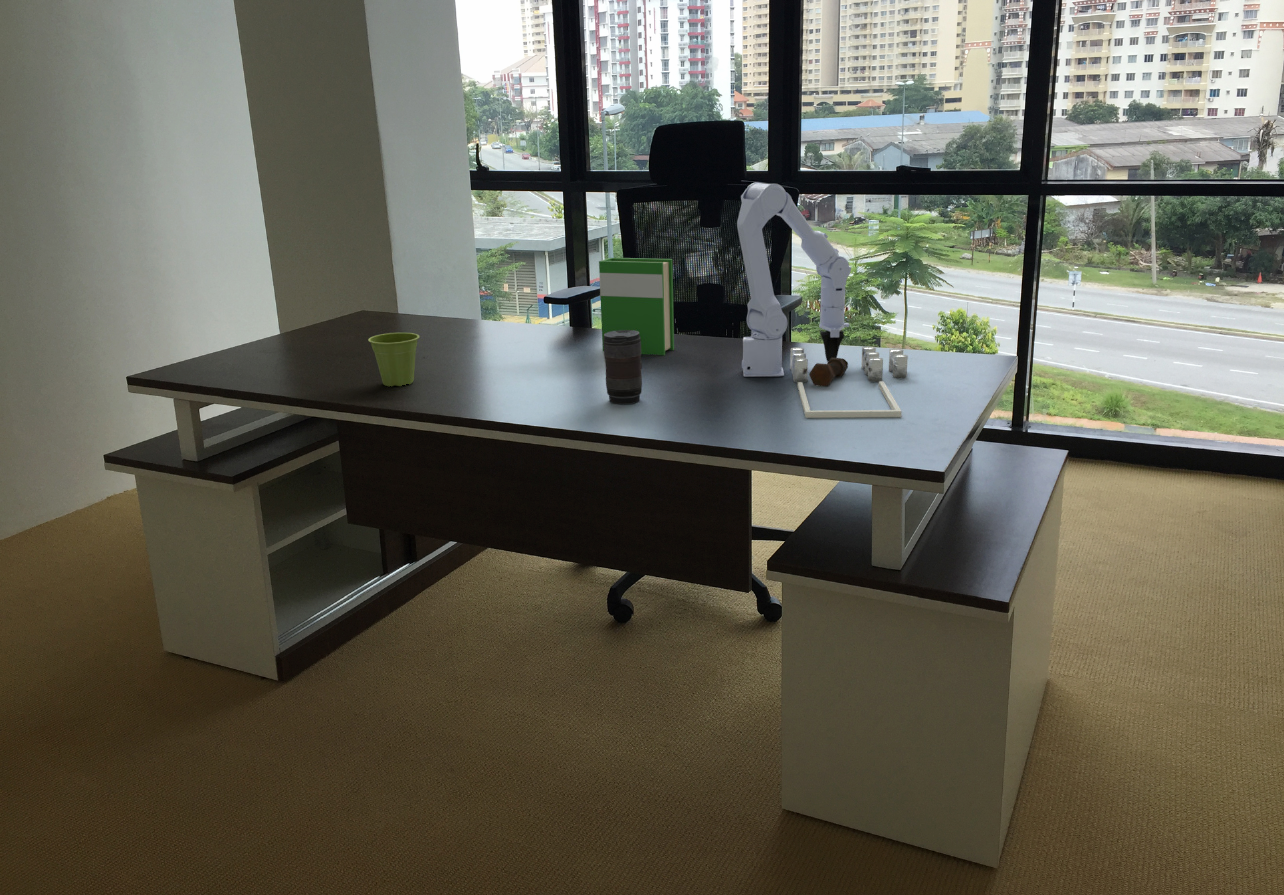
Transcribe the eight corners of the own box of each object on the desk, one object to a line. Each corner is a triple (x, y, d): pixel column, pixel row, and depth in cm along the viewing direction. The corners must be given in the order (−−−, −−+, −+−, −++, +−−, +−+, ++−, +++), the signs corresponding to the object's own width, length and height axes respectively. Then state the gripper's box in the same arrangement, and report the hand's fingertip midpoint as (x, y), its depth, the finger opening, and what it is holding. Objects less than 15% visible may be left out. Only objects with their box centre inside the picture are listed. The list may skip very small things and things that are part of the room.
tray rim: (805, 417, 207) (805, 411, 207) (797, 387, 231) (797, 382, 230) (901, 417, 205) (901, 411, 205) (883, 386, 229) (883, 381, 229)
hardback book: (674, 349, 274) (672, 259, 267) (664, 355, 267) (661, 262, 260) (614, 346, 280) (610, 257, 273) (602, 351, 274) (598, 261, 267)
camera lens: (606, 396, 228) (604, 329, 224) (643, 395, 228) (641, 329, 223) (604, 405, 221) (601, 337, 216) (642, 405, 220) (640, 336, 216)
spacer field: (793, 382, 235) (794, 361, 234) (789, 367, 249) (790, 347, 248) (909, 381, 233) (911, 360, 231) (899, 366, 247) (900, 346, 246)
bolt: (844, 380, 244) (823, 392, 232) (827, 368, 246) (805, 379, 233) (857, 360, 241) (836, 371, 229) (839, 348, 243) (818, 359, 230)
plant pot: (363, 388, 243) (357, 341, 239) (391, 376, 253) (386, 331, 250) (406, 391, 239) (401, 343, 235) (433, 379, 249) (428, 333, 246)
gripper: (853, 310, 239) (851, 367, 243) (846, 300, 253) (844, 354, 257) (822, 311, 239) (821, 367, 244) (817, 300, 253) (816, 354, 257)
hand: (831, 361), depth 250 cm, fingers closed
